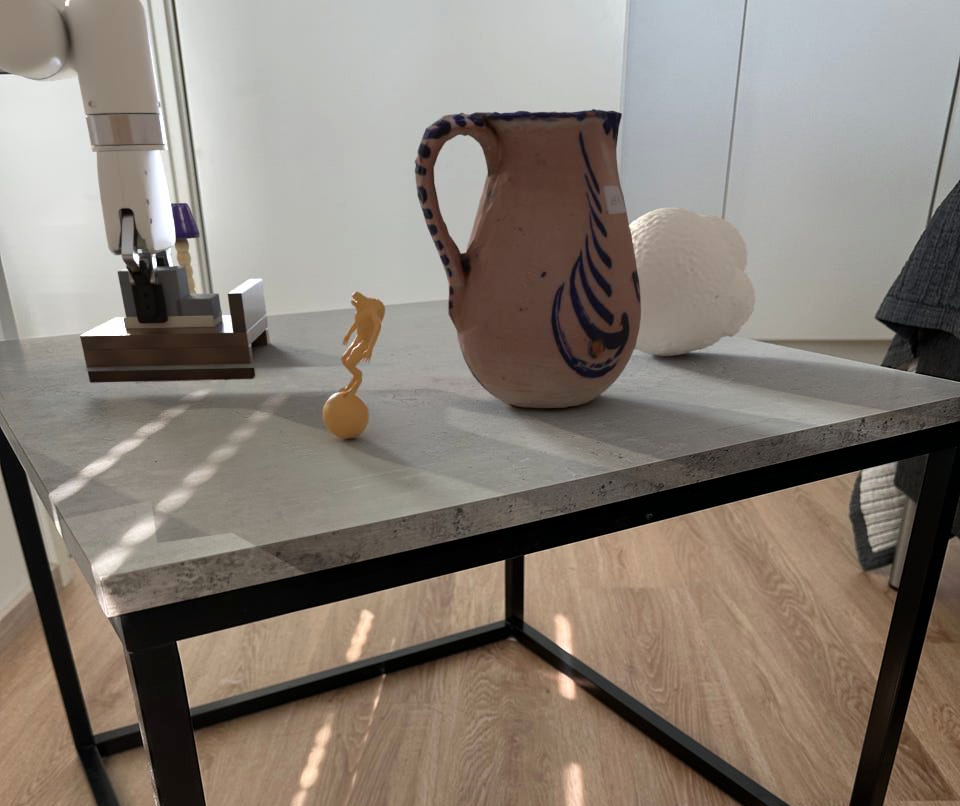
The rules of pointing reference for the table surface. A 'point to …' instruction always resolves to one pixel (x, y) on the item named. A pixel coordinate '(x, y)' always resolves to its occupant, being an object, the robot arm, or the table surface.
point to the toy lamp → (184, 238)
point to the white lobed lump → (689, 281)
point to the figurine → (355, 370)
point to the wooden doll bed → (182, 344)
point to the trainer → (173, 302)
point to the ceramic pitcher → (540, 255)
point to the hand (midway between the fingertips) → (159, 317)
